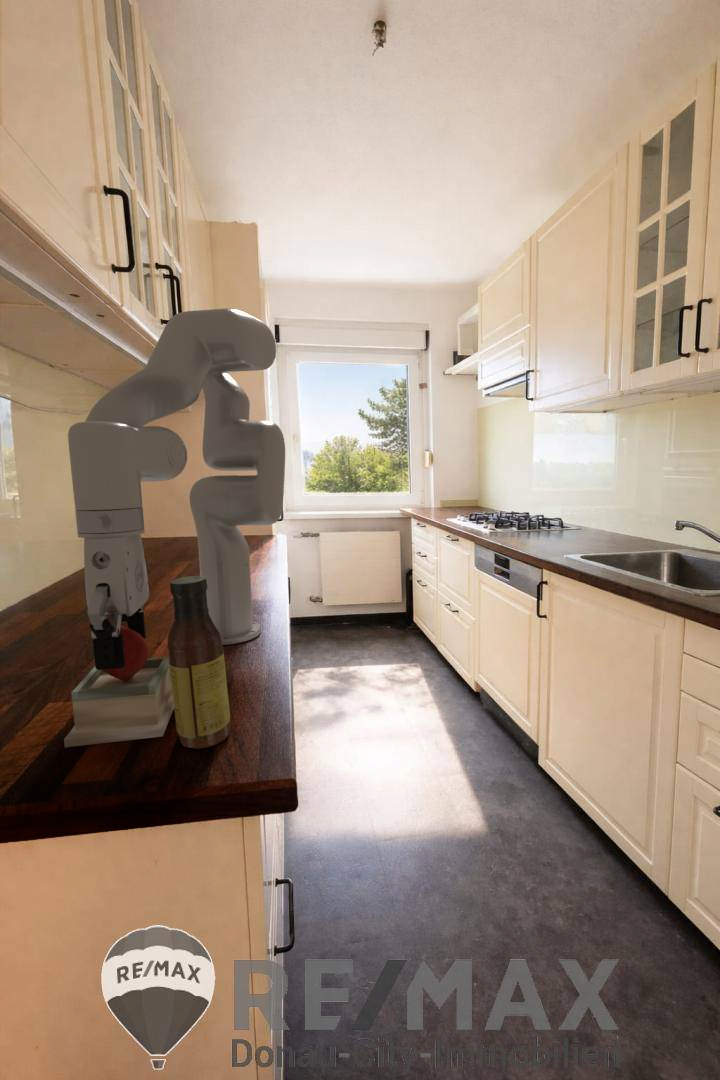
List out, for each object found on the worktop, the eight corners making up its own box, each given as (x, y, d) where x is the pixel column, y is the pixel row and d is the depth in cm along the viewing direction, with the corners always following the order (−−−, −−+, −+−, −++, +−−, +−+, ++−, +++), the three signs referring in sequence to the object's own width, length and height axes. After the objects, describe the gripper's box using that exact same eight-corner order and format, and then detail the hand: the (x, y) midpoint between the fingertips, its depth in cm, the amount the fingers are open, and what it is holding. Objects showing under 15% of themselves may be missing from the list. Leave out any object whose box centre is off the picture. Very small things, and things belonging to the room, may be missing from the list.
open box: (99, 700, 68) (95, 659, 67) (180, 693, 70) (177, 652, 69) (64, 747, 57) (59, 698, 56) (162, 736, 59) (158, 688, 58)
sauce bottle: (236, 723, 61) (227, 572, 59) (224, 751, 55) (213, 584, 52) (184, 725, 61) (173, 573, 58) (166, 753, 55) (153, 585, 52)
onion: (102, 694, 59) (96, 631, 58) (100, 678, 64) (95, 620, 63) (152, 683, 62) (148, 623, 61) (147, 668, 67) (143, 613, 66)
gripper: (122, 529, 52) (135, 678, 54) (158, 516, 69) (167, 630, 71) (47, 532, 51) (63, 684, 53) (102, 518, 68) (113, 634, 70)
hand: (123, 653), depth 62 cm, fingers open, 9 cm apart
